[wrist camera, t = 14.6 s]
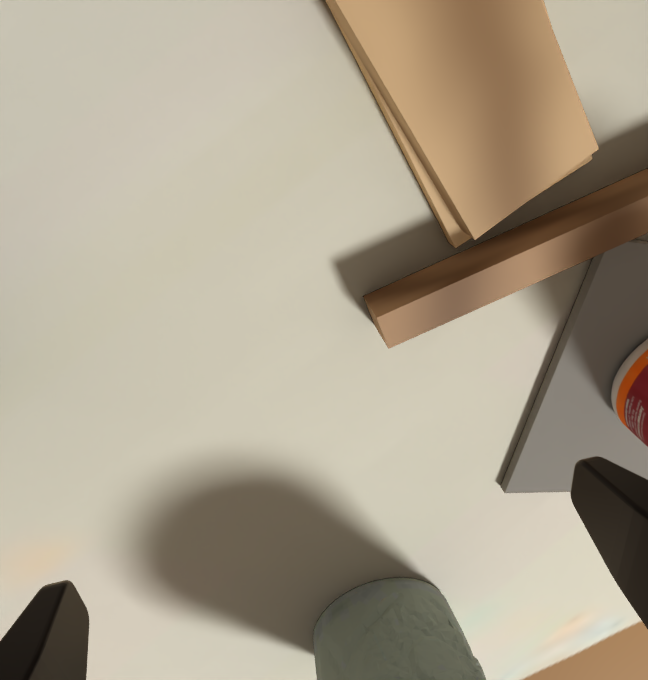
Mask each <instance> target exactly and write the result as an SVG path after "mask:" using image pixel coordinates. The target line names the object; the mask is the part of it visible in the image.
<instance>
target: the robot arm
mask: <svg viewBox="0 0 648 680" xmlns="http://www.w3.org/2000/svg"><path fill="white" fill-rule="evenodd" d="M571 499H572V502H573V505H574V507H575V509H576V510H577V512H578V514H579V516H580V518H581V520H582V521H583V523H584V525H585V527H586V529H587V531H588V532H589V534H590V536H591V538H592V540H593V542H594V543H595V545H596V547H597V549H598V551H599V553H600V554H601V556H602V558H603V560H604V562H605V564H606V565H607V567H608V569H609V571H610V573H611V574H612V576H613V578H614V579H615V581H616V583H617V584H618V586H619V587H620V589H621V590H622V592H623V593H624V595H625V596H626V598H627V599H628V601H629V602H630V604H631V605H632V607H633V608H634V610H635V611H636V613H637V614H638V616H639V617H640V618H641V620H642V621H643V623H644V624H645V626H646V627H647V629H648V480H647V479H645V478H643V477H641V476H639V475H637V474H635V473H633V472H631V471H629V470H627V469H625V468H623V467H621V466H619V465H617V464H615V463H613V462H611V461H609V460H607V459H605V458H603V457H599V456H594V457H590V458H585V459H581V460H579V461H577V463H576V464H575V467H574V473H573V479H572V485H571ZM88 636H89V615H88V611H87V608H86V606H85V604H84V603H83V601H82V599H81V597H80V595H79V593H78V592H77V590H76V588H75V586H74V585H73V583H72V582H71V581H68V580H65V581H61V582H56V583H52V584H48V585H45V586H44V587H42V588H41V589H40V590H39V591H38V593H37V594H36V595H35V597H34V598H33V599H32V600H31V602H30V603H29V604H28V606H27V607H26V608H25V610H24V611H23V612H22V614H21V615H20V616H19V617H18V619H17V620H16V621H15V623H14V624H13V625H12V627H11V628H10V629H9V630H8V632H7V633H6V634H5V636H4V637H3V638H2V640H1V641H0V680H86V672H87V654H88Z"/></svg>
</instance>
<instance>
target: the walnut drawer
mask: <svg viewBox="0 0 648 680" xmlns="http://www.w3.org/2000/svg"><path fill="white" fill-rule="evenodd" d="M646 233H648V168H647V169H645V170H643V171H640V172H638V173H636V174H634V175H632V176H629V177H627V178H625V179H623V180H620V181H618V182H616V183H614V184H612V185H609V186H607V187H605V188H603V189H600V190H598V191H596V192H594V193H592V194H589V195H587V196H585V197H583V198H580V199H578V200H576V201H574V202H571V203H569V204H567V205H565V206H563V207H560V208H558V209H556V210H554V211H551V212H549V213H547V214H545V215H543V216H540V217H538V218H536V219H534V220H531V221H529V222H527V223H525V224H523V225H520V226H518V227H516V228H514V229H511V230H509V231H507V232H505V233H503V234H500V235H498V236H496V237H494V238H491V239H489V240H487V241H485V242H483V243H480V244H478V245H476V246H474V247H471V248H469V249H467V250H465V251H463V252H460V253H458V254H456V255H454V256H451V257H449V258H447V259H445V260H443V261H440V262H438V263H436V264H434V265H431V266H429V267H427V268H425V269H423V270H420V271H418V272H416V273H414V274H411V275H409V276H407V277H405V278H402V279H400V280H398V281H396V282H394V283H391V284H389V285H387V286H385V287H382V288H380V289H378V290H376V291H374V292H371V293H369V294H367V295H365V296H363V297H364V300H365V302H366V305H367V307H368V310H369V312H370V315H371V317H372V320H373V323H374V325H375V327H376V328H377V330H378V332H379V333H380V335H381V337H382V338H383V340H384V342H385V343H386V345H387V347H388V348H391V347H393V346H396V345H398V344H400V343H402V342H405V341H407V340H409V339H411V338H414V337H416V336H418V335H420V334H422V333H425V332H427V331H429V330H431V329H434V328H436V327H438V326H440V325H443V324H445V323H447V322H449V321H452V320H454V319H456V318H458V317H461V316H463V315H465V314H467V313H469V312H472V311H474V310H476V309H478V308H481V307H483V306H485V305H487V304H490V303H492V302H494V301H496V300H499V299H501V298H503V297H505V296H508V295H510V294H512V293H514V292H516V291H519V290H521V289H523V288H525V287H528V286H530V285H532V284H534V283H537V282H539V281H541V280H543V279H546V278H548V277H550V276H552V275H555V274H557V273H559V272H561V271H564V270H566V269H568V268H570V267H572V266H575V265H577V264H579V263H581V262H584V261H586V260H588V259H590V258H593V257H595V256H597V255H599V254H602V253H604V252H606V251H608V250H611V249H613V248H615V247H617V246H619V245H622V244H624V243H626V242H628V241H631V240H633V239H635V238H637V237H640V236H642V235H644V234H646Z"/></svg>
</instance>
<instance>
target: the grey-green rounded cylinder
mask: <svg viewBox="0 0 648 680" xmlns="http://www.w3.org/2000/svg"><path fill="white" fill-rule="evenodd" d="M313 645H314V655H315V664H316V674H317V680H486V678H485V675H484V672H483V670H482V667H481V666H480V664H479V662H478V660H477V659H476V658H475V657H474V656H473V654H472V651H471V649H470V646H469V644H468V642H467V640H466V638H465V636H464V633H463V631H462V629H461V627H460V625H459V624H458V622H457V620H456V618H455V616H454V614H453V612H452V610H451V608H450V606H449V604H448V602H447V600H446V598H445V597H444V596H443V595H442V594H441V593H440V591H439V590H438V589H437V588H435V587H434V586H433V585H431V584H429V583H427V582H425V581H422V580H418V579H413V578H388V579H382V580H378V581H373V582H370V583H367V584H364V585H361V586H359V587H357V588H355V589H353V590H351V591H349V592H347V593H345V594H344V595H342V596H341V597H339V598H338V599H336V600H335V601H334V602H333V603H332V604H331V605H330V606H328V607H327V609H326V610H325V611H324V612H323V613H322V615H321V616H320V618H319V620H318V622H317V624H316V626H315V628H314V636H313Z"/></svg>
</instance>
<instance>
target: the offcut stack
mask: <svg viewBox="0 0 648 680" xmlns="http://www.w3.org/2000/svg"><path fill="white" fill-rule="evenodd" d="M325 1H326V3H327V5H328V6H329V8H330V10H331V12H332V14H333V16H334V18H335V20H336V22H337V24H338V26H339V28H340V30H341V32H342V34H343V36H344V38H345V40H346V42H347V44H348V46H349V48H350V50H351V52H352V54H353V56H354V58H355V59H356V61H357V63H358V65H359V67H360V69H361V71H362V73H363V75H364V77H365V79H366V81H367V83H368V85H369V87H370V89H371V91H372V93H373V95H374V97H375V99H376V101H377V103H378V105H379V107H380V109H381V111H382V112H383V114H384V116H385V118H386V120H387V122H388V124H389V126H390V128H391V130H392V132H393V134H394V136H395V138H396V140H397V142H398V144H399V146H400V148H401V150H402V152H403V154H404V156H405V158H406V160H407V162H408V164H409V166H410V167H411V169H412V171H413V173H414V175H415V177H416V179H417V181H418V183H419V185H420V187H421V189H422V191H423V193H424V195H425V197H426V199H427V201H428V203H429V205H430V207H431V209H432V211H433V213H434V215H435V217H436V219H437V220H438V222H439V224H440V226H441V228H442V230H443V232H444V234H445V236H446V238H447V240H448V242H449V243H450V244H451V245H453V246H454V247H455V248H457V247H458V246H460V245H462V244H463V243H465V242H466V241H468V240H469V239H471V238H473V239H474V240H476V239H477V238H478V237H480V236H481V235H483V234H484V233H485V232H487V231H488V230H489V229H491V228H492V227H493V226H495V225H496V224H498V223H499V222H500V221H502V220H503V219H504V218H506V217H507V216H508V215H510V214H511V213H512V212H514V211H515V210H517V209H518V208H519V207H521V206H522V205H523V204H525V203H526V202H528V201H529V200H531V199H532V198H534V197H535V196H537V195H538V194H540V193H542V192H543V191H545V190H546V189H548V188H549V187H551V186H552V185H554V184H555V183H557V182H558V181H560V180H562V179H563V178H565V177H566V176H568V175H569V174H571V173H572V172H574V171H575V170H577V169H578V168H580V167H582V166H583V165H585V164H586V163H588V162H589V161H591V160H592V156H591V154H593V153H594V152H595V151H597V150H598V149H599V148H598V145H597V143H596V140H595V137H594V135H593V132H592V130H591V127H590V125H589V122H588V119H587V117H586V114H585V112H584V109H583V107H582V104H581V101H580V99H579V96H578V94H577V91H576V89H575V86H574V83H573V81H572V78H571V76H570V73H569V71H568V68H567V65H566V63H565V60H564V58H563V55H562V53H561V50H560V47H559V45H558V42H557V40H556V37H555V35H554V32H553V30H552V26H551V23H550V20H549V17H548V14H547V10H546V7H545V4H544V1H543V0H325Z"/></svg>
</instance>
